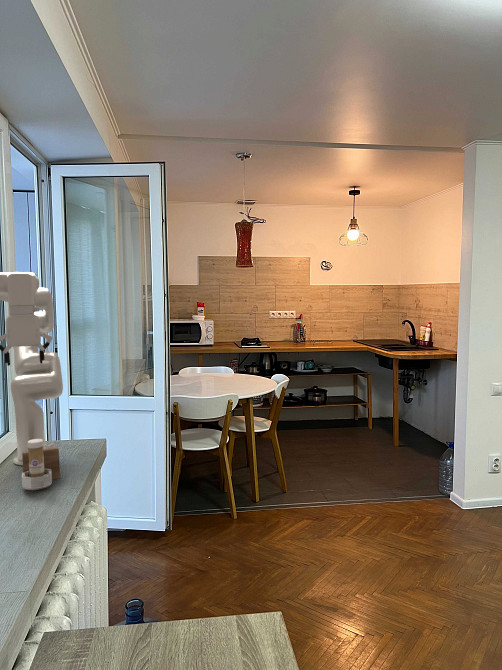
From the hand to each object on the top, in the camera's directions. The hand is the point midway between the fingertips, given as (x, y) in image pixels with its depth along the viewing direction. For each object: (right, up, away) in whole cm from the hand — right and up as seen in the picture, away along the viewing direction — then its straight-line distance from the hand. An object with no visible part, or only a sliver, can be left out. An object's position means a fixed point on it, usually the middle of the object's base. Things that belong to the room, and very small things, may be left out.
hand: (25, 364), depth 170 cm
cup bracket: (+5, -38, -4) cm, 38 cm away
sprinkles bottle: (+6, -37, -5) cm, 38 cm away
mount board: (+4, -38, +4) cm, 38 cm away
